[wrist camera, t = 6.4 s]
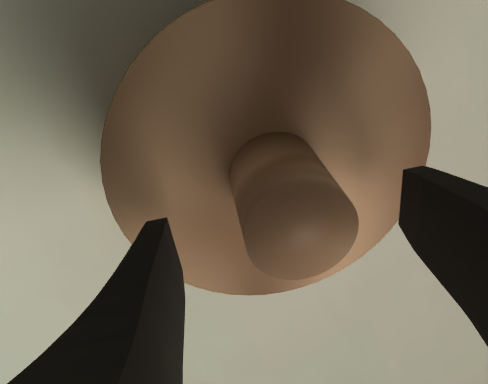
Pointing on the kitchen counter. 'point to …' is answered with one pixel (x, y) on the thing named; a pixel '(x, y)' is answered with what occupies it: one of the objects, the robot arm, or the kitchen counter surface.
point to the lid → (266, 140)
